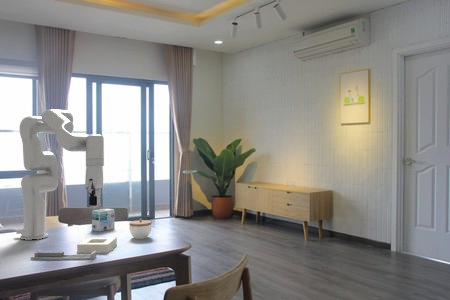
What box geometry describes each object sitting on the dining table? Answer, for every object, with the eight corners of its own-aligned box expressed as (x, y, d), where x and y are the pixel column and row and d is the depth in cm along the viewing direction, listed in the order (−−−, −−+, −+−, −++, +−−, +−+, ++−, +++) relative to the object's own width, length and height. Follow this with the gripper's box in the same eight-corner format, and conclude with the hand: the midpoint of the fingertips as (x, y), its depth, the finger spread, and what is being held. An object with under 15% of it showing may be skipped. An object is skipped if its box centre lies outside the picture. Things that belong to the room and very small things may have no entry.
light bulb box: (99, 231, 213) (99, 211, 213) (91, 230, 216) (91, 210, 216) (115, 228, 222) (115, 208, 222) (106, 227, 226) (106, 208, 226)
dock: (77, 252, 170) (77, 244, 170) (88, 245, 183) (88, 237, 183) (107, 252, 170) (107, 244, 170) (116, 245, 182) (116, 237, 182)
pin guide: (30, 259, 159) (30, 253, 159) (35, 257, 163) (35, 251, 163) (93, 259, 159) (92, 253, 159) (96, 256, 163) (96, 250, 163)
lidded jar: (124, 239, 195) (124, 219, 195) (137, 234, 205) (137, 216, 205) (143, 241, 191) (143, 221, 191) (155, 236, 201) (155, 217, 201)
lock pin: (34, 259, 160) (34, 253, 160) (36, 257, 162) (36, 251, 162) (61, 258, 160) (61, 252, 160) (63, 257, 162) (63, 251, 162)
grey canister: (88, 209, 173) (88, 188, 173) (92, 207, 178) (92, 187, 178) (98, 209, 173) (98, 188, 173) (102, 207, 178) (101, 187, 178)
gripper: (93, 162, 184) (93, 202, 184) (78, 163, 167) (79, 207, 167) (109, 162, 184) (109, 202, 184) (96, 163, 167) (97, 207, 167)
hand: (95, 204), depth 176 cm, fingers closed on grey canister, 4 cm apart
